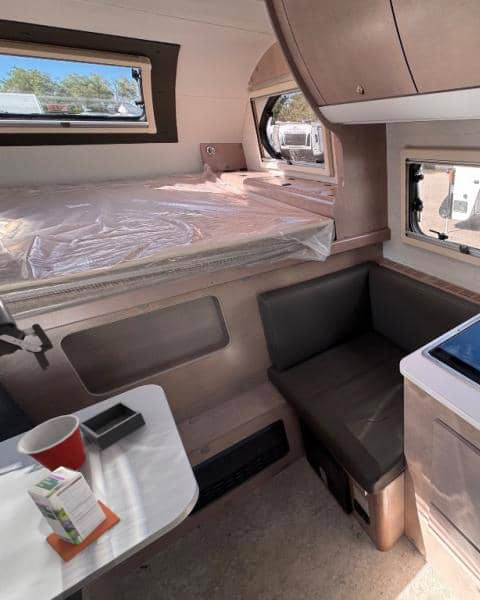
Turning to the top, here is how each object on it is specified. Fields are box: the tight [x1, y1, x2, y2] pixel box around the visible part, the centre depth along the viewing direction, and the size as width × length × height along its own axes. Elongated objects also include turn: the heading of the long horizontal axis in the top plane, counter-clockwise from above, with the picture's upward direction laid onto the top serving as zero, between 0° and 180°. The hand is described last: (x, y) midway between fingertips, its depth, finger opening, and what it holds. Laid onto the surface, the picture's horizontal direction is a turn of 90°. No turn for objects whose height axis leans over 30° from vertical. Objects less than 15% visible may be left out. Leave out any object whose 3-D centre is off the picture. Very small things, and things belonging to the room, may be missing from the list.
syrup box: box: [27, 467, 106, 545], centre depth 65 cm, size 6×6×14 cm
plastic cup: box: [16, 414, 87, 473], centre depth 79 cm, size 11×11×12 cm
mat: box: [45, 499, 121, 563], centre depth 68 cm, size 9×9×1 cm
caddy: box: [79, 400, 146, 451], centre depth 91 cm, size 10×10×4 cm
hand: (16, 378), depth 68 cm, fingers open, 8 cm apart
